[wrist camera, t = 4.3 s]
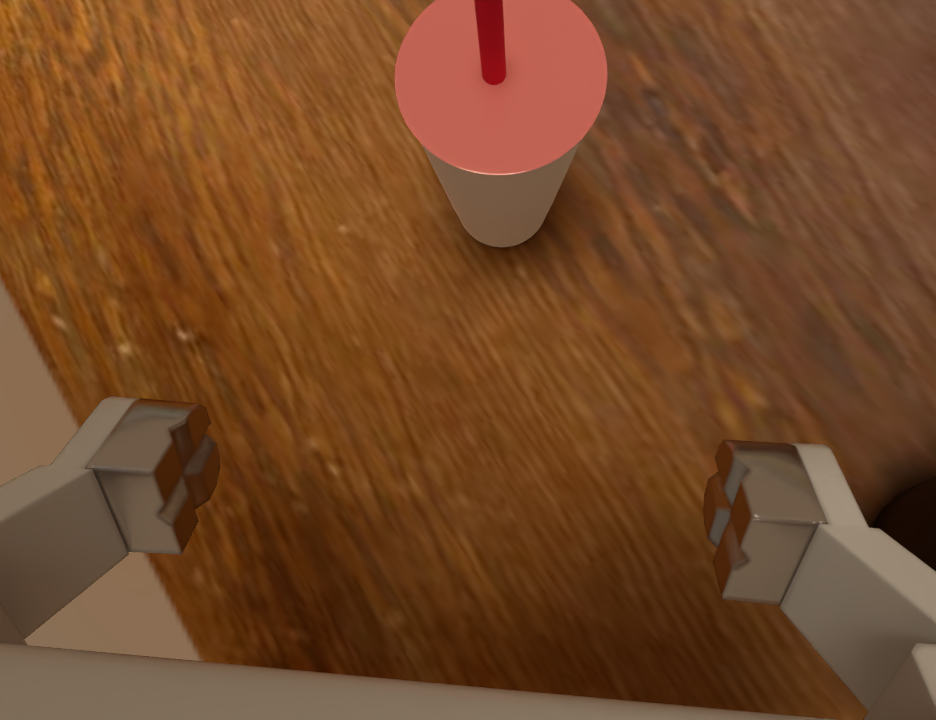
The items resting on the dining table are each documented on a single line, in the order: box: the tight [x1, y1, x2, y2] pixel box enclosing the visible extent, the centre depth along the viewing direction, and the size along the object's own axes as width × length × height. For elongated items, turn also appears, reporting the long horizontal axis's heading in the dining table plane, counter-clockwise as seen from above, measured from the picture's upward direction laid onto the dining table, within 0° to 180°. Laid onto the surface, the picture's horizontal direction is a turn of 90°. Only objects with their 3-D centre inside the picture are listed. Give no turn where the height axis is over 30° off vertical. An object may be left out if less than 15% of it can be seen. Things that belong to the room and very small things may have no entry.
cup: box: [395, 0, 607, 247], centre depth 21 cm, size 5×5×12 cm
